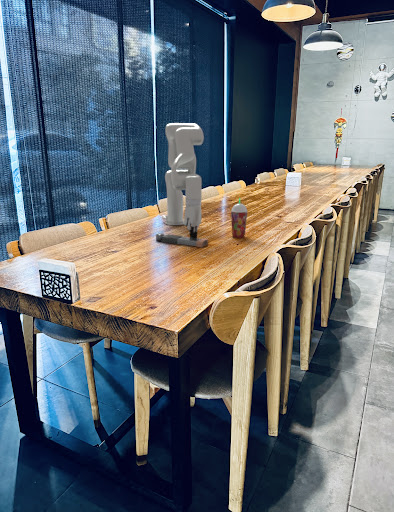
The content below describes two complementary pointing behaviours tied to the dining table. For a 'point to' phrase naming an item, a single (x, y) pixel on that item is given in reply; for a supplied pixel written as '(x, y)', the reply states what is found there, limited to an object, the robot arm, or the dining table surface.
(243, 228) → the smoothie
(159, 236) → the tongs moving jaw
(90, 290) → the dining table surface
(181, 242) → the bar
